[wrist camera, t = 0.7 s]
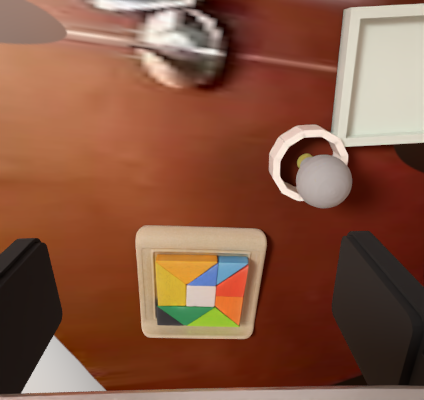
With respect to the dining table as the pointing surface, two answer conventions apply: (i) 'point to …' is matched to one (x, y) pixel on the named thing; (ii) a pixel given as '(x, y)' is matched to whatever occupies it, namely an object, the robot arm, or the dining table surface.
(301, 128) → the holder ring
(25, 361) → the robot arm
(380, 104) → the tray
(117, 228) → the dining table surface
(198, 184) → the dining table surface
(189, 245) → the wooden puzzle
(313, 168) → the light bulb
